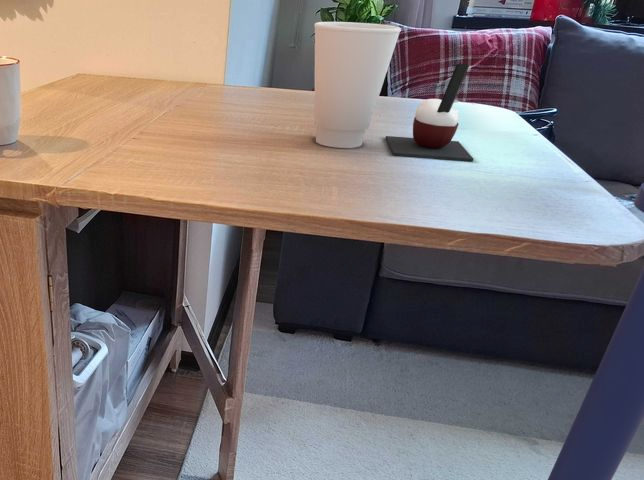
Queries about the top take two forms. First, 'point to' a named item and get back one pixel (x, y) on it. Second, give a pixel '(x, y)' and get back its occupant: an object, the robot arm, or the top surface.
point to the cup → (349, 78)
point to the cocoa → (439, 115)
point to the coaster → (427, 149)
